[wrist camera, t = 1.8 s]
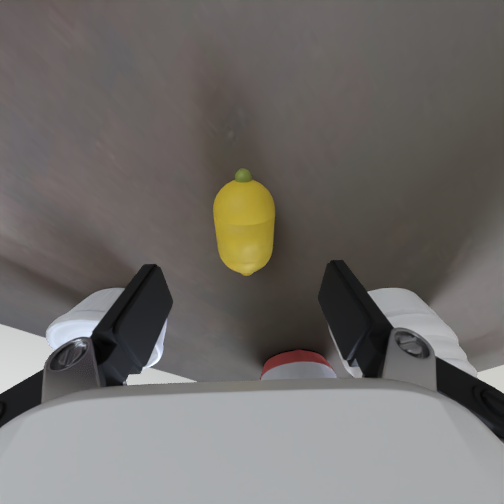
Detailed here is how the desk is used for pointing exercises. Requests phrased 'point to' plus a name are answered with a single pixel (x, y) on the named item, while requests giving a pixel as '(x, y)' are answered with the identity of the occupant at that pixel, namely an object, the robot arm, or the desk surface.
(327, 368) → the citrus juicer
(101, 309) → the ramekin
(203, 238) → the desk surface
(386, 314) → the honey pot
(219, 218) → the lemon
